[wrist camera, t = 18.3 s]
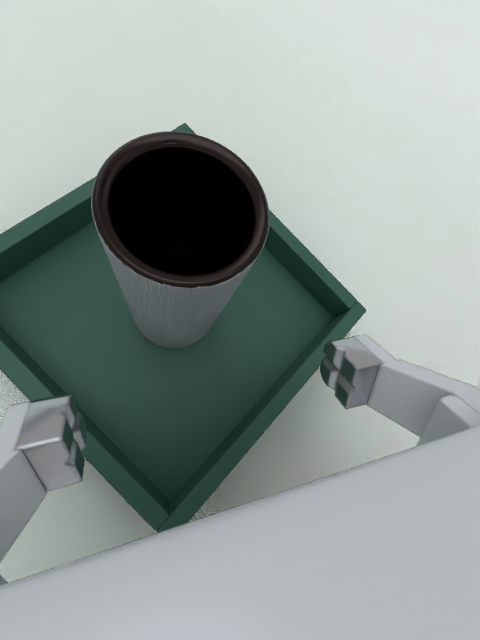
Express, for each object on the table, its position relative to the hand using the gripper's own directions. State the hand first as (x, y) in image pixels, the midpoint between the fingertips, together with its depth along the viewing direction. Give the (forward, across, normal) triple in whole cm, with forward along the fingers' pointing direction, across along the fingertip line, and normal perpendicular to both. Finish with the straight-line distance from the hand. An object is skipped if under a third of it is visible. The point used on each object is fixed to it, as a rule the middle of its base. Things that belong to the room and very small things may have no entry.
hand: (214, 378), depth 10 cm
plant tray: (+9, 0, -2) cm, 9 cm away
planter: (+8, 0, -2) cm, 9 cm away
